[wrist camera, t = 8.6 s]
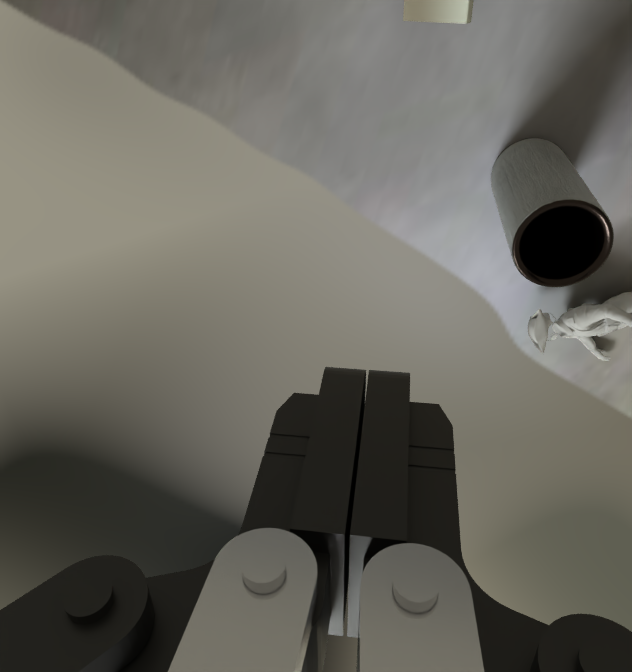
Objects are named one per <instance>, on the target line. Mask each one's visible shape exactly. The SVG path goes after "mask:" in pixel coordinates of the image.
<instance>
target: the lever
mask: <svg viewBox="0 0 632 672" xmlns="http://www.w3.org/2000/svg"><path fill="white" fill-rule="evenodd" d="M472 8H473V0H404V16H403V21H420V22H441V23H461V24H467V23H470V22H471V17H472Z"/></svg>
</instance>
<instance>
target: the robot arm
mask: <svg viewBox="0 0 632 672" xmlns="http://www.w3.org/2000/svg"><path fill="white" fill-rule="evenodd" d="M365 389H366V370H359V369H346V368H333V367H325V370H324V374H323V379H322V383H321V388H320V392H319V395H314V394H301V393H294V394H292V396H291V397H290V398H289V399H288V400H287V401H286V402H285V403H284V404H283V405H282V406H281V407H280V408H279V409H278V410H277V412H276V415H275V419H274V422H273V425H272V428H271V432H270V438H269V439H268V442H267V445H266V449H265V454H264V456H263V458H262V462H261V465H260V468H259V471H258V475H257V478H256V481H255V485H254V488H253V492H252V495H251V498H250V501H249V505H248V508H247V511H246V515H245V518H244V521H243V524H242V527H241V530H240V532H239V534H238V536H237V537H235V538H234V539H232V540H231V541H230V542H228V543H227V544H226V545H225V546H224V547H223V548H222V550H221V551H220V552H219V554H218V555H217V557H216V559H214V560H212V561H210V562H209V563H207V564H205V565H202V566H200V567H197V568H194V569H190V570H186V571H181V572H176V573H170V574H165V575H159V576H154V577H148V578H145V576H144V574H143V572H142V571H141V569H140V568H139V567H138V566H137V565H136V564H135V563H133V562H132V561H130V560H128V559H125V558H123V557H119V556H113V555H110V556H109V555H103V556H95V557H91V558H88V559H84V560H82V561H79V562H77V563H75V564H73V565H71V566H69V567H67V568H66V569H64V570H63V571H61V572H59V573H58V574H57V575H55V576H53V577H52V578H50V579H48V580H47V581H45V582H44V583H42V584H41V585H39V586H37V587H36V588H34V589H33V590H31V591H30V592H28V593H26V594H25V595H23V596H22V597H20V598H19V599H17V600H15V601H14V602H12V603H11V604H9V605H8V606H6V607H5V608H3V609H1V610H0V672H323V668H324V662H325V654H326V646H327V639H328V634H331V635H340V636H343V630H344V621H345V611H346V603H347V593H348V632H347V633H348V634H347V636H349V637H357V638H358V649H357V672H632V632H631V631H629V630H628V629H626V628H625V627H623V626H621V625H619V624H617V623H615V622H613V621H611V620H609V619H606V618H603V617H600V616H595V615H590V614H572V615H568V616H564V617H561V618H560V619H558V620H555V621H554V622H553V623H551V624H550V625H547V624H544V623H542V622H540V621H537V620H535V619H533V618H530V617H528V616H526V615H523V614H521V613H518V612H516V611H514V610H512V609H510V608H508V607H506V606H504V605H502V604H500V603H499V602H497V601H495V600H494V599H492V598H491V597H490V596H488V595H487V594H486V593H485V592H484V591H483V590H482V589H481V588H480V587H479V586H478V585H477V584H476V583H475V581H474V580H473V579H472V577H471V576H470V574H469V572H468V570H467V569H466V567H465V564H464V561H463V558H462V552H461V543H460V528H459V514H458V499H457V485H456V474H455V456H454V441H453V427H452V424H451V423H450V421H449V420H448V418H447V416H446V415H445V413H444V412H443V410H442V409H441V407H440V405H439V404H429V403H417V402H416V403H415V402H409V399H410V397H409V396H410V373H402V372H389V371H375V370H369V375H368V384H367V392H366V401H365ZM348 584H349V592H348Z"/></svg>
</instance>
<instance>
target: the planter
mask: <svg viewBox="0 0 632 672" xmlns="http://www.w3.org/2000/svg"><path fill="white" fill-rule="evenodd" d="M491 186H492V191H493V195H494V198H495V201H496V205H497V208H498V212H499V215H500V218H501V222H502V225H503V229H504V232H505V235H506V239H507V242H508V245H509V249H510V252H511V256H512V259H513V262H514V264H515V266H516V268H517V269H518V271H519V272H520V273H521V274H522V275H523V276H524V277H525V278H526V279H528V280H530V281H531V282H533V283H536V284H538V285H541V286H546V287H564V286H569V285H573V284H576V283H578V282H581V281H583V280H585V279H587V278H588V277H590V276H591V275H593V274H594V273H595V272H596V271H597V270H598V269H599V268H600V267H601V266H602V265H603V264H604V262H605V261H606V259H607V258H608V256H609V254H610V252H611V249H612V245H613V238H614V234H613V228H612V224H611V222H610V220H609V218H608V216H607V215H606V213H605V212H604V210H603V209H602V207H601V206H600V204H599V203H598V201H597V200H596V198H595V197H594V196H593V194H592V193H591V191H590V190H589V188H588V187H587V185H586V184H585V182H584V181H583V180H582V178H581V177H580V175H579V174H578V172H577V171H576V169H575V168H574V166H573V165H572V164H571V162H570V161H569V159H568V158H567V156H566V155H565V153H564V152H563V151H562V150H561V149H560V148H559V147H558V146H557V145H555V144H554V143H552V142H550V141H548V140H545V139H540V138H530V139H525V140H521V141H519V142H516V143H514V144H512V145H511V146H509V147H508V148H507V149H505V150H504V151H503V152H502V153H501V155H500V156H499V157H498V159H497V160H496V162H495V164H494V166H493V169H492V173H491Z"/></svg>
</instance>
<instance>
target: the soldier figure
mask: <svg viewBox="0 0 632 672" xmlns="http://www.w3.org/2000/svg"><path fill="white" fill-rule="evenodd" d="M550 314H551V313H550ZM553 318H555V317H553ZM555 319H556V318H555ZM550 325H552V328H553V330H554V331H555V332H556V333H557V334H559V335H560V336H562V337H564V338H566V337H567V338H578V339H579V340H580V341H581V342H582V343H583V344H584V345H585V346H586V347H587V349H588V350H590V351H591V352H592V353H593V354H594V355H595V356H596V357H597V358H599V359H601V360H603V361H609V360H610V359H609V358H610V357H606V356H603V354H602V353H601V352H600V351H604V350H601V349H598V348H596V347H595V346H596V344H595V341H594V340H593V339H592V337H591V336H596V335H597V336H599V337H600V336H603V335H606V334H609V332H611V331H615V330H618V329H621V328H623V327H626V326H629V327H632V292H625V293H621V294H619V295H617V296H616V297H615V296H614V297H612V298H610V299H609V300H607V301H605V302H604V303H603V304H601V305H598V304H587V303H585V304H582V306H579V307H576V308H569V309H568V310H567V312H565V313H564V314H562V315H561V317H560V318H559V319H558V320H557V321H555V322H554V323H553V322H552V321H551V320H550V316H549V314H548V313H542V311H541V309H539V310H537V312H536V313H535V314H534V315H533V316H531V317H530V320H529V324H528V334H529V336H530V338H531V340H532V342H533V343H534V345H535V346H536V347H537V348H538V349H539V350H540V352H541V353H542V354H543V353H544V350H545V346H546V341H547V338H548V328H549V326H550ZM552 334H553V333H552ZM556 338H557V335H554V336H553V337H552V338H551V340H554V339H556ZM567 338H566V339H567ZM551 340H548V341H551Z"/></svg>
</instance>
